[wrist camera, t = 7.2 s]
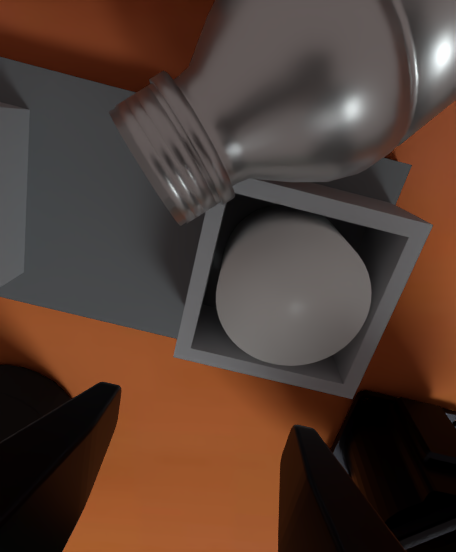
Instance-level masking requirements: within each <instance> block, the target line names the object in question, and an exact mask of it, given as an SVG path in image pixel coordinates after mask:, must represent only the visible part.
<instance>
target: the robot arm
mask: <svg viewBox="0 0 456 552" xmlns="http://www.w3.org/2000/svg"><path fill="white" fill-rule="evenodd" d="M120 398H121V387H120V386H119V385H115V384H111V383H106V382H100V383H98V384H96V385H94V386H93V387H91V388H89V389H88V390H86V391H84V392H83V393H81V394H79V395H78V396H76V397H74V398H73V399H71V400H69V401H68V402H66V403H64V404H63V405H61V406H59V407H58V408H56V409H54V410H53V411H51V412H49V413H48V414H46V415H44V416H43V417H41V418H39V419H38V420H36V421H34V422H33V423H31V424H29V425H28V426H26V427H25V428H23V429H21V430H20V431H18V432H16V433H15V434H13V435H11V436H10V437H8V438H6V439H5V440H3V441H1V442H0V552H62V551H63V549H64V547H65V545H66V543H67V541H68V539H69V537H70V535H71V534H72V532H73V530H74V528H75V526H76V524H77V522H78V520H79V518H80V516H81V513H82V511H83V509H84V507H85V505H86V502H87V500H88V498H89V495H90V493H91V490H92V488H93V485H94V482H95V480H96V477H97V475H98V472H99V469H100V467H101V464H102V462H103V459H104V456H105V454H106V451H107V449H108V446H109V443H110V441H111V438H112V436H113V433H114V430H115V427H116V424H117V420H118V414H119V406H120ZM365 398H368V399H367V400H365V401H363V399H365ZM455 420H456V411H452V410H448V409H444V408H441V407H440V406H436V405H432V404H427V403H423V402H419V401H415V400H411V399H406V398H402V397H400V398H398V397H393V396H389V395H385V394H381V393H376V392H372V391H368V390H363V391H360V392H358V393H357V395H356V397H355V399H354V401H353V403H352V405H351V407H350V410H349V412H348V414H347V416H346V418H345V420H344V422H343V425H342V427H341V429H340V431H339V433H338V435H337V437H336V440H335V442H334V444H333V446H332V448H331V450H330V449H329V448H328V446H327V445H326V444H325V442H324V441H323V440H322V438H321V437H320V436H319V434H318V433H317V432H316V431H315V430H314V429H313V428H310V427H306V426H301V425H294V426H293V427H292V428H291V431H290V433H289V436H288V439H287V442H286V445H285V448H284V451H283V453H282V457H281V464H280V492H279V528H278V552H456V421H455ZM453 421H454V422H453Z"/></svg>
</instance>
